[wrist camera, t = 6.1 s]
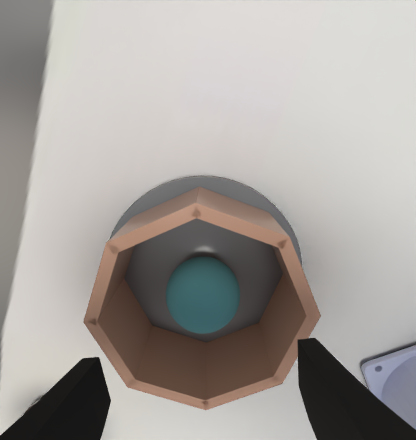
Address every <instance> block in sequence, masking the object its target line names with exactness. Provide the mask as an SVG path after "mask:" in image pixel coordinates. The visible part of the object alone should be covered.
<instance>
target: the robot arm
mask: <svg viewBox="0 0 416 440" xmlns="http://www.w3.org/2000/svg"><path fill="white" fill-rule="evenodd" d="M297 342H298V378H299V388H300V391H301V395H302V398H303V402H304V405H305V408H306V412H307V415H308V418H309V421H310V423H311V426H312V428H313V431H314V433H315V436H316V438H317V440H416V345H414V346H411V347H408V348H405V349H403V350H400V351H397V352H394V353H391V354H388V355H385V356H382V357H379V358H376V359H373V360H370V361H367V362H365V363H364V364H363V365H362V367H361V368H362V372H363V374H364V377H365V380H366V383H367V385H368V388H369V390H368V389H367V388H366V387H365V386H364V385H363V384H362V383H361V382H360V381H358V380H357V379H356V378H355V377H354V376H353V375H352V374H351V373H350V372H349V371H348V370H347V369H346V368H345V367H344V366H343V365H342V364H341V363H340V362H339V361H338V360H337V359H336V358H335V357H334V356H333V355H332V354H331V353H330V352H329V351H328V350H327V349H326V348H325V347H324V346H323V345H322V344H321V343H320V342H319V341H318V340H317V339H315V338H308V339H297ZM376 366H377V367H376ZM110 402H111V399H110V396H109V392H108V388H107V385H106V381H105V377H104V374H103V370H102V366H101V363H100V359H99V357H94V358H83V359H82V360H81V361H79V362H78V363H77V364H76V365H75V366H74V367H73V368H72V369H71V370H70V371H69V372H68V373H67V374H66V375H65V376H64V377H63V378H62V379H61V380H60V381H58V382H57V383H56V384H55V385H54V386H53V387H52V388H51V389H50V390H49V391H48V392H47V393H46V394H45V395H44V396H43V397H42V398H41V399H40V400H39V401H38V402H37V403H36V404H35V405H33V406H32V407H31V408H30V409H29V410H28V411H27V412H26V413H25V414H24V415H23V416H22V417H20V418H19V419H18V420H17V421H16V422H15V423H14V424H13V425H12V426H10V427H9V428H8V429H7V430H6V431H5V432H4V433H3V434H2V435H0V440H100V438H101V436H102V433H103V429H104V425H105V422H106V418H107V414H108V410H109V406H110Z"/></svg>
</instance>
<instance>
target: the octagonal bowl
mask: <svg viewBox="0 0 416 440" xmlns="http://www.w3.org/2000/svg"><path fill="white" fill-rule="evenodd" d="M201 256H203V257H212V258H215V259H217V260H220V261H221V262H223V263H224V264H226V265H227V266H228V267H229V268H230V269H231V270H232V272H233V273H234V274H235V276H236V278H237V281H238V283H239V288H240V302H239V306H238V309H237V311H236V314H235V315H234V317H233V318H232V320H231V321H230V322H229V323H228V324H227V325H226V326H224V327H223V328H221V329H219V330H217V331H215V332H212V333H205V334H200V333H194V332H191V331H188V330H186V329H184V328H183V327H181V326H180V325H179V324H178V323H177V322H176V321H175V320H174V319H173V317H172V316H171V314H170V312H169V310H168V307H167V303H166V288H167V284H168V281H169V278H170V276H171V275H172V273H173V272H174V270H175V269H176V268H177V267H178V266H179V265H180V264H182V263H183V262H185V261H187V260H189V259H191V258H195V257H201ZM320 316H321V315H320V312H319V310H318V307H317V305H316V302H315V300H314V297H313V295H312V292H311V290H310V287H309V285H308V282H307V279H306V277H305V274H304V272H303V269H302V260H301V253H300V248H299V245H298V242H297V238H296V236H295V234H294V232H293V230H292V228H291V226H290V224H289V223H288V221H287V220H286V218H285V217H284V216H283V214H282V213H281V212H280V211H279V210H278V209H277V208H276V207H275V206H274V205H273V204H272V203H271V202H270V201H269V200H268V199H267V198H265V197H264V196H263V195H262V194H260V193H259V192H257V191H255V190H254V189H252V188H250V187H248V186H246V185H244V184H242V183H239V182H236V181H233V180H230V179H226V178H220V177H214V176H193V177H185V178H181V179H177V180H173V181H170V182H167V183H165V184H162V185H160V186H158V187H156V188H154V189H153V190H151V191H149V192H148V193H146V194H145V195H144V196H142V197H141V198H140V199H138V200H137V201H136V202H135V203H134V204H133V205H132V206H131V207H130V208H129V209H128V210H127V211H126V212H125V213H124V215H123V216H122V217H121V219H120V220H119V221H118V223H117V225H116V227H115V228H114V230H113V232H112V235H111V237H110V240H109V241H108V242H107V243H106V245H105V249H104V252H103V256H102V259H101V263H100V266H99V270H98V273H97V277H96V280H95V284H94V287H93V290H92V294H91V297H90V301H89V304H88V308H87V311H86V315H85V318H84V324H85V325H86V327H87V328H88V330H89V331H90V333H91V334H92V336H93V337H94V339H95V340H96V341H97V343H98V344H99V346H100V347H101V349H102V350H103V352H104V353H105V355H106V356H107V358H108V359H109V361H110V362H111V364H112V365H113V367H114V368H115V370H116V371H117V372H118V374H119V375H120V377H121V378H122V380H123V381H124V383H125V384H126V386H127V387H128V388H132V389H135V390H139V391H142V392H145V393H149V394H152V395H156V396H159V397H163V398H166V399H169V400H173V401H176V402H180V403H183V404H187V405H190V406H193V407H197V408H200V409H204V410H208V409H210V408H213V407H216V406H219V405H222V404H225V403H228V402H231V401H234V400H236V399H239V398H242V397H245V396H248V395H251V394H254V393H257V392H260V391H263V390H265V389H268V388H271V387H274V386H277V385H280V384H282V383H283V381H284V380H285V378H286V376H287V374H288V373H289V371H290V369H291V367H292V366H293V364H294V362H295V360H296V359H297V357H298V342H297V339H308V337H309V336H310V334H311V332H312V330H313V329H314V327H315V325H316V323H317V322H318V320H319V318H320Z"/></svg>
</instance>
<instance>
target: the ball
mask: <svg viewBox="0 0 416 440" xmlns="http://www.w3.org/2000/svg"><path fill="white" fill-rule="evenodd" d="M239 302H240V288H239V283H238V281H237V278H236V276H235V274H234V273H233V272H232V270H231V269H230V268H229V267H228V266H227V265H226V264H224V263H223V262H221V261H220V260H217V259H215V258H212V257H203V256H201V257H195V258H191V259H189V260H187V261H185V262H183V263H182V264H180V265H179V266H178V267H177V268H176V269H175V270H174V272H173V273H172V275H171V276H170V278H169V281H168V284H167V288H166V303H167V307H168V310H169V312H170V314H171V316H172V317H173V319H174V320H175V321H176V322H177V323H178V324H179V325H180V326H181V327H183V328H184V329H186V330H188V331H191V332H194V333H200V334H205V333H212V332H215V331H217V330H219V329H221V328H223V327H224V326H226V325H227V324H228V323H229V322H230V321H231V320H232V318H233V317H234V315H235V314H236V311H237V309H238V306H239Z"/></svg>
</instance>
